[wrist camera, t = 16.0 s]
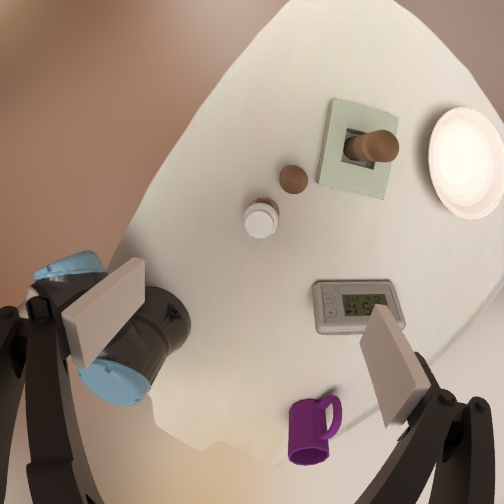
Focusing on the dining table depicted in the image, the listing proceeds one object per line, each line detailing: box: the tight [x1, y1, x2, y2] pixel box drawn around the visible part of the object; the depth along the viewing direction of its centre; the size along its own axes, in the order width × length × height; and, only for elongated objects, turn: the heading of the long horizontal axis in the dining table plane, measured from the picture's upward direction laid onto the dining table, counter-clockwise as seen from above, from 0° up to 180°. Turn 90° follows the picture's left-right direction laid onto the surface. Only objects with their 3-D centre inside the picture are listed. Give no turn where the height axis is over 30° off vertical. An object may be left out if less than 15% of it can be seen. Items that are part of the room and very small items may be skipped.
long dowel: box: [343, 130, 399, 162], centre depth 36 cm, size 4×4×15 cm
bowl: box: [428, 107, 504, 220], centre depth 38 cm, size 20×20×6 cm
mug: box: [288, 395, 342, 466], centre depth 55 cm, size 9×16×15 cm, turn 148°
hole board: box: [316, 98, 399, 200], centre depth 42 cm, size 11×14×4 cm
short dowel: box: [280, 165, 308, 194], centre depth 43 cm, size 4×4×7 cm
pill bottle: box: [243, 198, 279, 239], centre depth 44 cm, size 5×5×10 cm
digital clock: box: [313, 281, 406, 335], centre depth 47 cm, size 16×9×11 cm, turn 80°
